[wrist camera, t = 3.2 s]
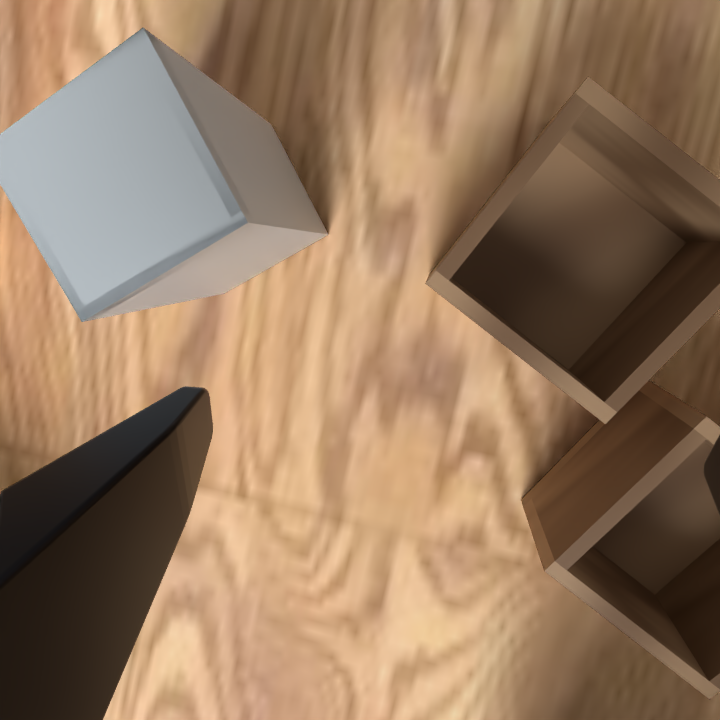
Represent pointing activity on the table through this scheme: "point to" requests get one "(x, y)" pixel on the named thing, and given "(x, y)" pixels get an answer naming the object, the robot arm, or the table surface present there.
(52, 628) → the robot arm
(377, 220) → the table surface
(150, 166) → the pale grey square pillar
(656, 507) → the box
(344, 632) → the table surface
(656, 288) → the box
